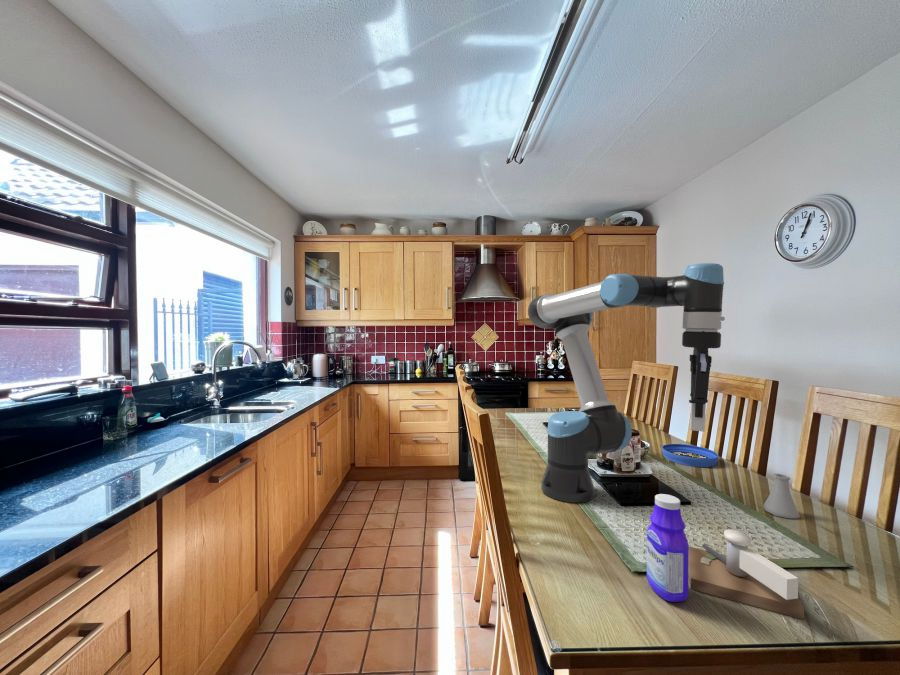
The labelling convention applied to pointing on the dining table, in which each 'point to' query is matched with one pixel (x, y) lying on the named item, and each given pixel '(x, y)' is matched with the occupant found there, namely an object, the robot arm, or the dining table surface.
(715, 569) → the board
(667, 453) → the bowl
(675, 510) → the bottle
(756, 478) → the dining table surface
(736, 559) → the peg
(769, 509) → the flask
